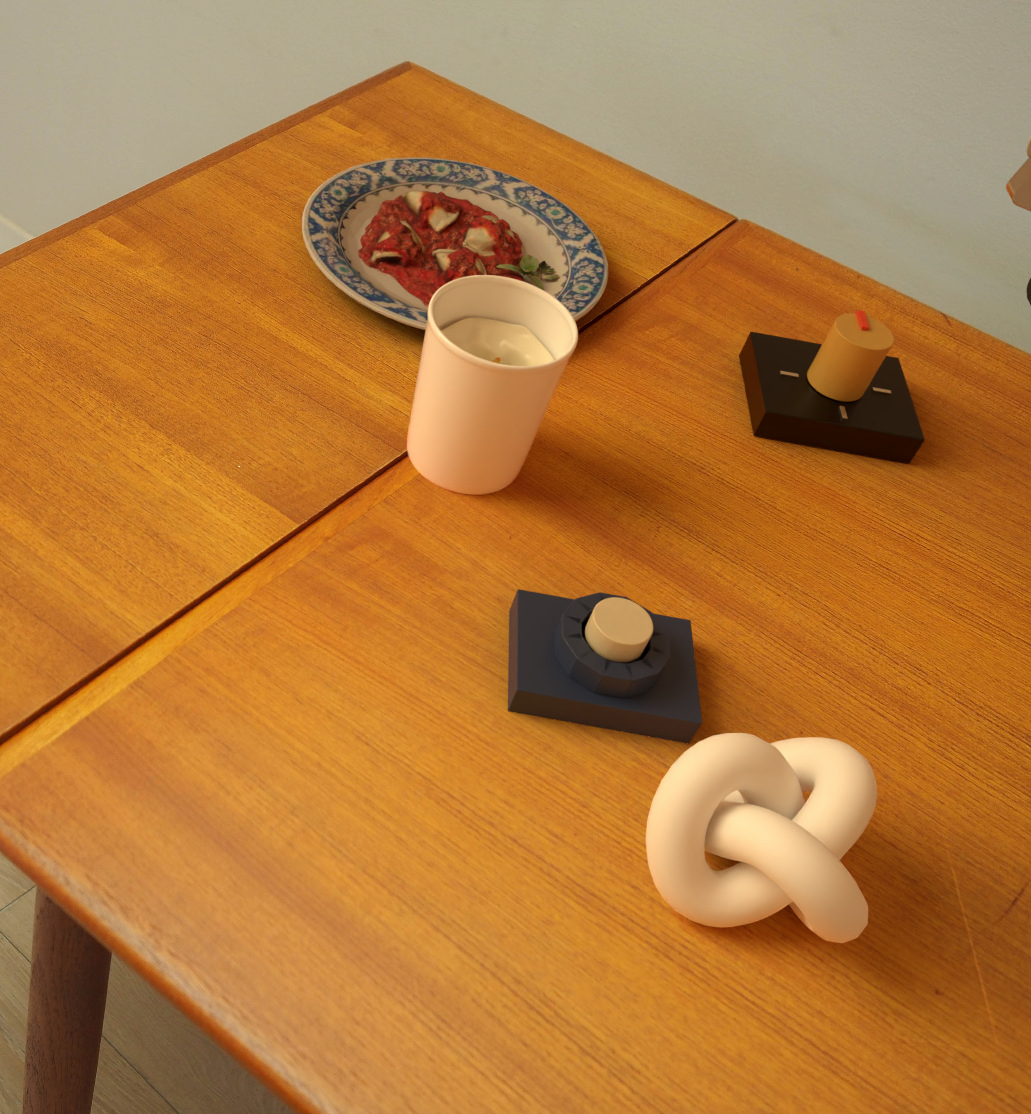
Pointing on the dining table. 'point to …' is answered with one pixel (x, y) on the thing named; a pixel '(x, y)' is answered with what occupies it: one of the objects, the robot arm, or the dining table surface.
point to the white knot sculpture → (763, 832)
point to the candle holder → (486, 380)
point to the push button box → (600, 671)
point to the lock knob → (850, 356)
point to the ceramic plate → (446, 235)
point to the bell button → (618, 629)
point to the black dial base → (826, 403)
